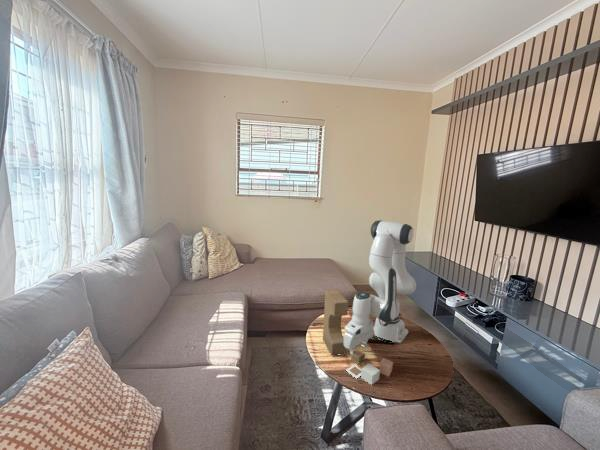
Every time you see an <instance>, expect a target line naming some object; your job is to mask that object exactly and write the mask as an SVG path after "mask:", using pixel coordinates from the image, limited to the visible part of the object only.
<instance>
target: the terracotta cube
mask: <svg viewBox="0 0 600 450" xmlns="http://www.w3.org/2000/svg"><path fill="white" fill-rule="evenodd" d="M393 367H394V362H393V361H392V360H389V359H387V358H384V357H383V358H382V359H381V360H380V362H379V368H378V369H379V370H380V375H384V376H386V377H390V375H391V373H392V372H393Z"/></svg>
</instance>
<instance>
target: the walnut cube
mask: <svg viewBox="0 0 600 450" xmlns="http://www.w3.org/2000/svg"><path fill="white" fill-rule="evenodd" d="M354 351H355V354H353V355H352V354H350V362H351V361H353V362H354V363H356V364H357V365H358V366H357V365H356V364H355V365H356V366H357V367H360V366H362V365H363V364H364V363H365V362H366V353H365V352H363V351H362V350H360V349H358V348H356V349H355V350H354ZM353 362H352V363H353ZM363 362H364V363H363ZM354 363H353V364H354ZM362 363H363V364H362ZM359 365H360V366H359Z"/></svg>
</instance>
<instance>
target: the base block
mask: <svg viewBox="0 0 600 450" xmlns="http://www.w3.org/2000/svg"><path fill="white" fill-rule="evenodd" d="M360 369H361V377H360V379H362V380H363V379H364V380H363V381H364V382H366V383H367V382H368V383H367V384H369V385H370V384H371V385H370V386H373V385H374V384H375V383H376V382H377V381H379V380H380V375H381V373H380V370H379V368H377V367H375V365H373V364H371V363H370V362H369V363H367V364H365V366H363V367H362V368H360ZM372 384H373V385H372Z"/></svg>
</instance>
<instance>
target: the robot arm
mask: <svg viewBox="0 0 600 450" xmlns="http://www.w3.org/2000/svg"><path fill="white" fill-rule="evenodd" d="M370 235H371V237H372V239H373V241H372V244H371V247H370V250H369V251H370V252H369V257H368V264H369V266H370V269H372V271H373V272H371V274H370V275H369V277H368V283H369V286H370V287H371V288H372V289H373V290H374V291H375V292H376V294H377V295H378V296H377V295H374V294H370V293H369V292H367V291H359V292H358V291H357V293H355V295H354V298H353V302H352V316H351V320H350V321H349V322H348V323H347V324H346V325H345V326H344V331H345V332H344V333H343V338H344V347H345V349H347V350H348V351H349V353H350V355H351V354H352V355H353V354H355V350H354V349H355V347H357V346H359V345H361V347H362V348H366V347H367V344H368V341H369V339H371V338H373V336H375V337H376V336H377V337H380V338H383V339H386V340H390V341H392V342H391V343H398V344H400V343H402V342H403V341H404V339H405V338H406V337H407V335H408V334H409V330H408V329H407V328H405V327H406V323H405V321H403V320H402V319H400V317H402V316H403V313H401V312H400V307H401V306H400V305H401V304H400V302H399V300H398V298H397V294H400V295H412V294H413V293H414V292H416V289H417V283H416V280H415V279H414V277H412V275H410V273H409V272H408V270H407V268H406V251H407V244H409V243H411V242H412V240H413V238H414V228H413V227H412V225H410V224H407V223H402V222H397V221H387V220H374V222H373V223H372V224H371V226H370ZM370 316H371V317H375V318H376V319H375V323H373V320H372V319H370ZM373 324H374V325H373ZM377 337H376V338H377Z"/></svg>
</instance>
